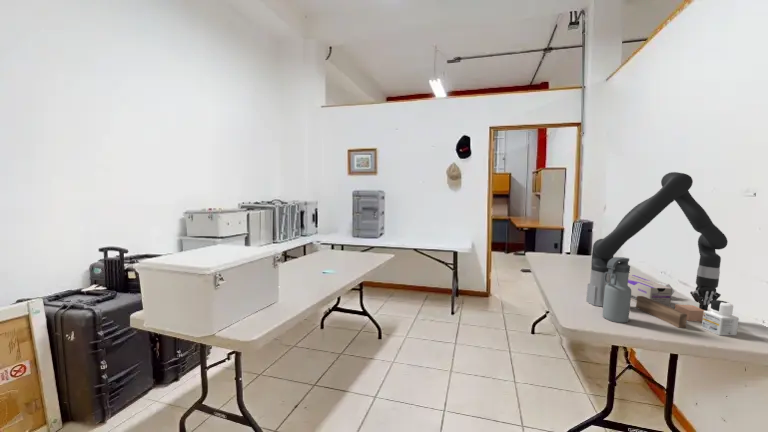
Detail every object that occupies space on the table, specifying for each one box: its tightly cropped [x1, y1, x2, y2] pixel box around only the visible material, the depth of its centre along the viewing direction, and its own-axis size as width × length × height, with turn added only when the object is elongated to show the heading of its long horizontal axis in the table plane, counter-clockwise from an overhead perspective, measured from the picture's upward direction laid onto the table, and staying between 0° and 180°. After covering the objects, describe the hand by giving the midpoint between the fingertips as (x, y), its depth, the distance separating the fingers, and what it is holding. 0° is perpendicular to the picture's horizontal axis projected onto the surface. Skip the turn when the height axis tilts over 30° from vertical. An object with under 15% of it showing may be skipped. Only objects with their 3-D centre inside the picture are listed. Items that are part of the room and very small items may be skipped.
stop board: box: [635, 296, 687, 329], centre depth 159 cm, size 3×24×6 cm, turn 2°
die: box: [657, 282, 675, 297], centre depth 189 cm, size 8×9×10 cm
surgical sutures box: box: [628, 274, 673, 307], centre depth 183 cm, size 25×11×11 cm, turn 1°
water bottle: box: [601, 256, 632, 324], centre depth 153 cm, size 10×10×28 cm
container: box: [701, 299, 740, 336], centre depth 144 cm, size 8×8×13 cm
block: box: [674, 303, 705, 322], centre depth 159 cm, size 8×8×5 cm
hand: (702, 312), depth 159 cm, fingers closed
